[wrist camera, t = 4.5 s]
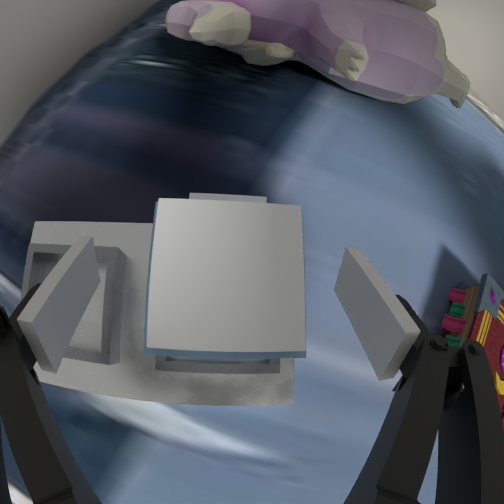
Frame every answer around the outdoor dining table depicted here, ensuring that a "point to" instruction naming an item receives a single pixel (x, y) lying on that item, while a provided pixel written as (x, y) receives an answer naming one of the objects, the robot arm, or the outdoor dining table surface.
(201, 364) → the panel
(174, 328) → the plug
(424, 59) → the toy
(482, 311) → the decorative book
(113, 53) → the outdoor dining table surface
